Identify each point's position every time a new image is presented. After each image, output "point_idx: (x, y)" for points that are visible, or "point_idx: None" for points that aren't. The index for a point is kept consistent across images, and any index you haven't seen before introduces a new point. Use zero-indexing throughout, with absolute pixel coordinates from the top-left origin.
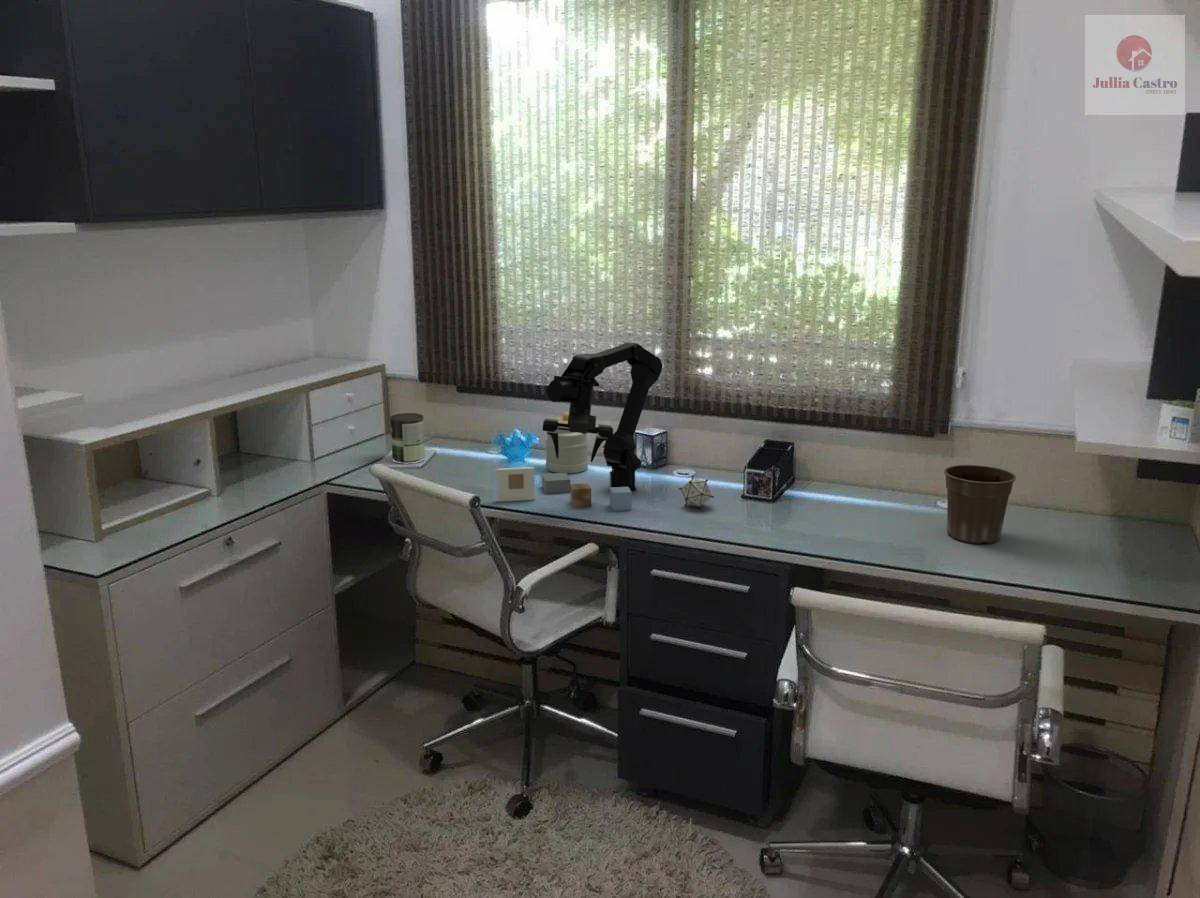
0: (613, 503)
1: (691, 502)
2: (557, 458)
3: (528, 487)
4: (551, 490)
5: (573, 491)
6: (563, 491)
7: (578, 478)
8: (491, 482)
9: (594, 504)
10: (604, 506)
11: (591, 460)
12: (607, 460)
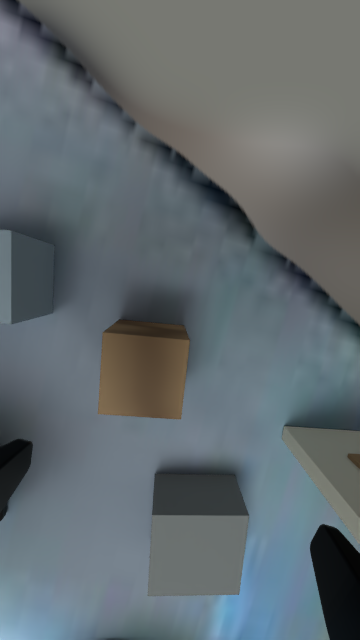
0: (37, 240)
1: None
2: (325, 525)
3: (330, 457)
4: (218, 483)
5: (186, 338)
6: (177, 477)
7: (96, 597)
8: None
9: None
10: (74, 301)
11: (18, 446)
12: None
